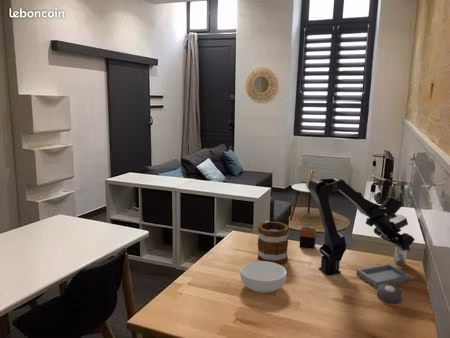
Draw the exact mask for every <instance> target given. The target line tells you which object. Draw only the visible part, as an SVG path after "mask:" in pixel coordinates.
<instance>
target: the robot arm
mask: <svg viewBox="0 0 450 338" xmlns="http://www.w3.org/2000/svg"><path fill="white" fill-rule="evenodd" d="M307 189H308V191H309V193H310V195H311V196H312V198H313V200H314V201H315V203H316V206H317V208H318V213H319V216H320V218H321V222H322V226H323V231H324V233H325V234H324V243H323V244H322V245H321V246H320V248H318V250H319V251H318V252H319V253H320V254H321V261H320V267H318V270H319V271H320V272H322V273H323V274H324V275H326V276H332V275H334V276H335V275H337V274H342V272H341V271H340V265H341V264H340V262H341V261H342V258H343V256H344V254H345V252H346V251H347V246H348V244H347V243H346V238H345V235H343V234H342V233H340V232H339V231H338V230H337V225H336V222H335V218H334V215H333V212H332V211H333V210H332V208H331V205H330V195H331V193H332V194H333V193H336V192H337V191H338V192H340V193H341V194H343V195H344V196H345V197H346V198H347V199H349V200H350V201H351V202H352V203H353V204H354V205H355V207H356V209H357V210H358V211H359V213H360V214H362V215H364V216H366V217H368V218H366V221H365V224H366V225H367V226H369V227H373V226H374V229H373V234H375V235H376V236H378V237H380V238H381V239H383V240H385V241H387V242H390V243H392V244H394V245H396V246H397V247H399V248H401V249H402V250H407V252H409V251H411V248H410V246H411V245H412V244H413V242H414V241H415V238H414V236H412V235H411V234H409V233H408V232H407V233H406V232H405V233H404V232H403V233H400V232H401V231H402V228H404V227H406V226H408V225H409V223H408V219H407V217H406V216H405V215H402V214H398V213H397V212H398V211H399V210H401V208H402V207H403V205H402V204H401V203H400V202H399V201H398V200H396V199H395V198H393V196H391V195H387V197H386V198H385V200H384V201H383V202H382V203H381V204H379V203H374V202H372V201H371V200H368V199H366V198H365V197H363V196H362V195H361V194H359V193H358V192H357V191H356V190H355V189H354V188H353V187H351V186H350V185H349V184H348V183H347V182H346V181H345V180H344V179H342V178H340V177H331V178H320V179H319V178H312V179H311V180H309V182H308V184H307ZM387 217H388V218H389V219H388V218H387ZM396 239H397V241H396Z"/></svg>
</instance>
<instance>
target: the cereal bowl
mask: <svg viewBox="0 0 450 338" xmlns="http://www.w3.org/2000/svg"><path fill="white" fill-rule="evenodd" d="M239 272H240V273H239V275H240V279H241V282H242V284H244V286H245V287H246V288H248V289H250V290H251V291H255V292H257V293H259V294H269V293H272V292H275V291H277V290H279V289H280V288H282V287H283V286H284V285H285V283H286V281H287V274H288V273H287V272H288V271H287V269H286V268H285V267H284V266H283V265H279V264H276V263H273V262H267V261H258V260H257V261H251V262H248V263H245V264H244V265H242V267H241V268H240V269H239Z"/></svg>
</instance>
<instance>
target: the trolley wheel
mask: <svg viewBox="0 0 450 338" xmlns="http://www.w3.org/2000/svg"><path fill="white" fill-rule="evenodd" d="M376 297H377V298H378V299H379V300H380V301H382V302H384V303H387V304H400V303H401V302H402V301H403V290H402V289H401V288H400V287H398V286H397V285H390V284H381V285H379V286H378V288H377V291H376Z"/></svg>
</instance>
